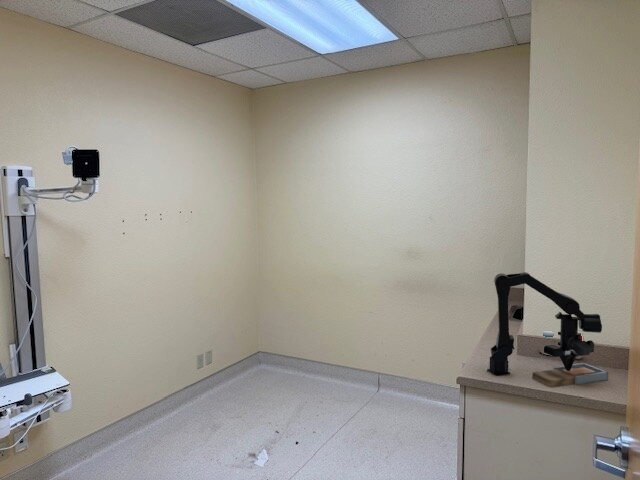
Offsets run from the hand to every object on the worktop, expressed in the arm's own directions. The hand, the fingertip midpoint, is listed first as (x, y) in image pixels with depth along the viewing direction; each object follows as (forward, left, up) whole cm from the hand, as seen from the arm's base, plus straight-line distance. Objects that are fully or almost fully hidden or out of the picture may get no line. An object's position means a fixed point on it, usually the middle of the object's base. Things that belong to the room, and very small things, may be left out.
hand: (568, 370), depth 169 cm
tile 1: (+3, 0, -3) cm, 4 cm away
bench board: (-7, 0, -3) cm, 8 cm away
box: (+6, 0, -3) cm, 7 cm away
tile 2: (+8, 0, -3) cm, 9 cm away
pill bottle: (+16, +26, -4) cm, 31 cm away
